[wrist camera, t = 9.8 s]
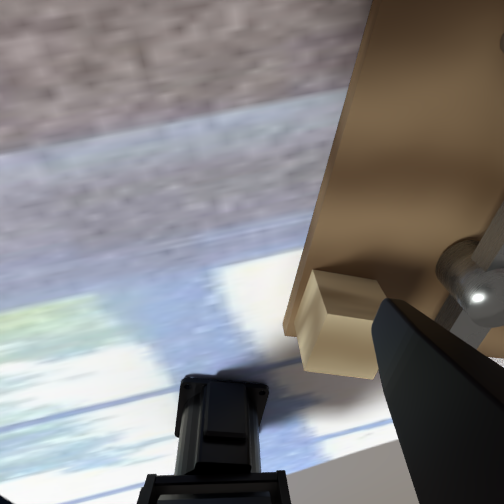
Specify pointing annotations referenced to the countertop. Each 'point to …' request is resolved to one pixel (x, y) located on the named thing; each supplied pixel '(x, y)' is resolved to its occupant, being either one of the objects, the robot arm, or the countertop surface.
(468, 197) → the board
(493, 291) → the lever
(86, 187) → the countertop surface
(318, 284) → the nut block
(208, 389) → the robot arm
